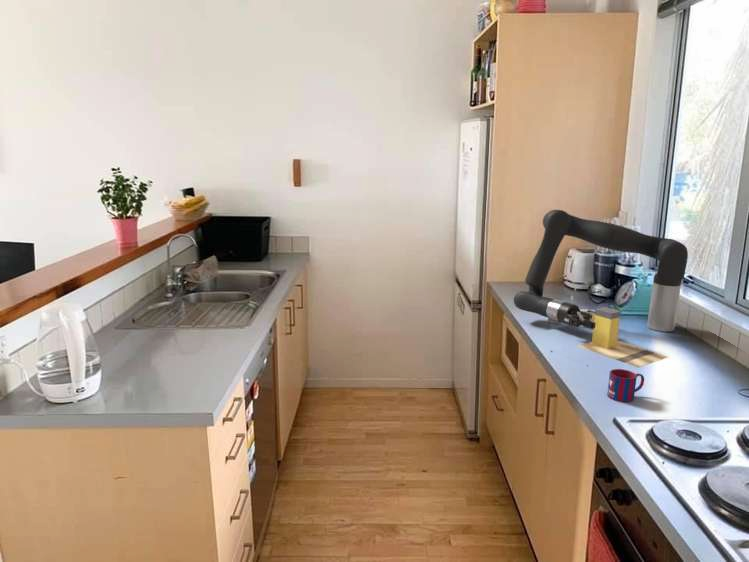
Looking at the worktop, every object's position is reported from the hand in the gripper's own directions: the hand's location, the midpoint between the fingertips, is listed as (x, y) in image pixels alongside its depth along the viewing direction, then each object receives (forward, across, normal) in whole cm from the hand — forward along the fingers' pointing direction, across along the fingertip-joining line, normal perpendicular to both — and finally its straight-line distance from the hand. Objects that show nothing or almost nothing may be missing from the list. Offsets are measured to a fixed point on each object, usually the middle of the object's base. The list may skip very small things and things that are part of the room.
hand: (602, 324), depth 197 cm
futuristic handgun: (-26, +18, +9) cm, 33 cm away
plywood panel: (+8, 0, +8) cm, 12 cm away
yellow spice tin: (+2, 0, +7) cm, 7 cm away
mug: (+29, -29, +8) cm, 41 cm away
